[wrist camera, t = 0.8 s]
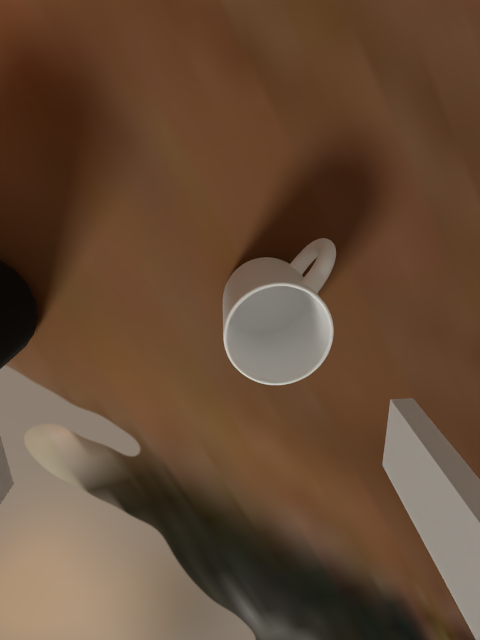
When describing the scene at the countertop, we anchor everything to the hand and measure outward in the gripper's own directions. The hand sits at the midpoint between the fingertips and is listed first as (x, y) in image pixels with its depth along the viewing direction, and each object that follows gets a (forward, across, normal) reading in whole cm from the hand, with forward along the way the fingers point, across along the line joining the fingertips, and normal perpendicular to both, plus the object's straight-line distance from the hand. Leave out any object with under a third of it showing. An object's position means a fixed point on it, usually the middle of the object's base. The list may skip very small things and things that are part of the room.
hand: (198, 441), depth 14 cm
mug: (+27, +6, -2) cm, 28 cm away
